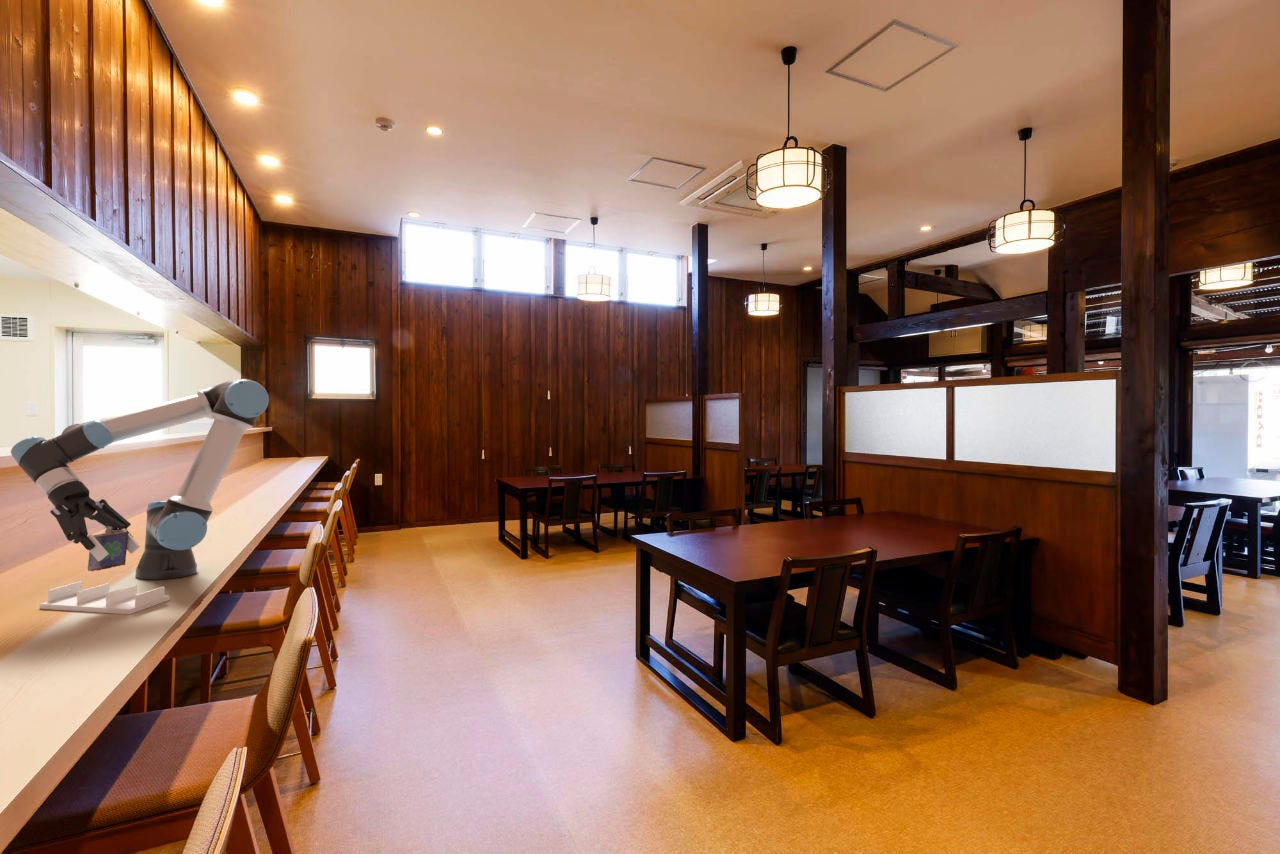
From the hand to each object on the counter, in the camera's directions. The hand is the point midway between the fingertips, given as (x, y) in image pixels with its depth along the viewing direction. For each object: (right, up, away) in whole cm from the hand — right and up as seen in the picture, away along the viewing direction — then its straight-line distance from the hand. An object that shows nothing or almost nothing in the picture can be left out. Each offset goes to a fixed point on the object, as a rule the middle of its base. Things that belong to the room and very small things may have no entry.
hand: (120, 553), depth 159 cm
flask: (-3, -4, 0) cm, 5 cm away
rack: (-4, -13, 0) cm, 14 cm away
